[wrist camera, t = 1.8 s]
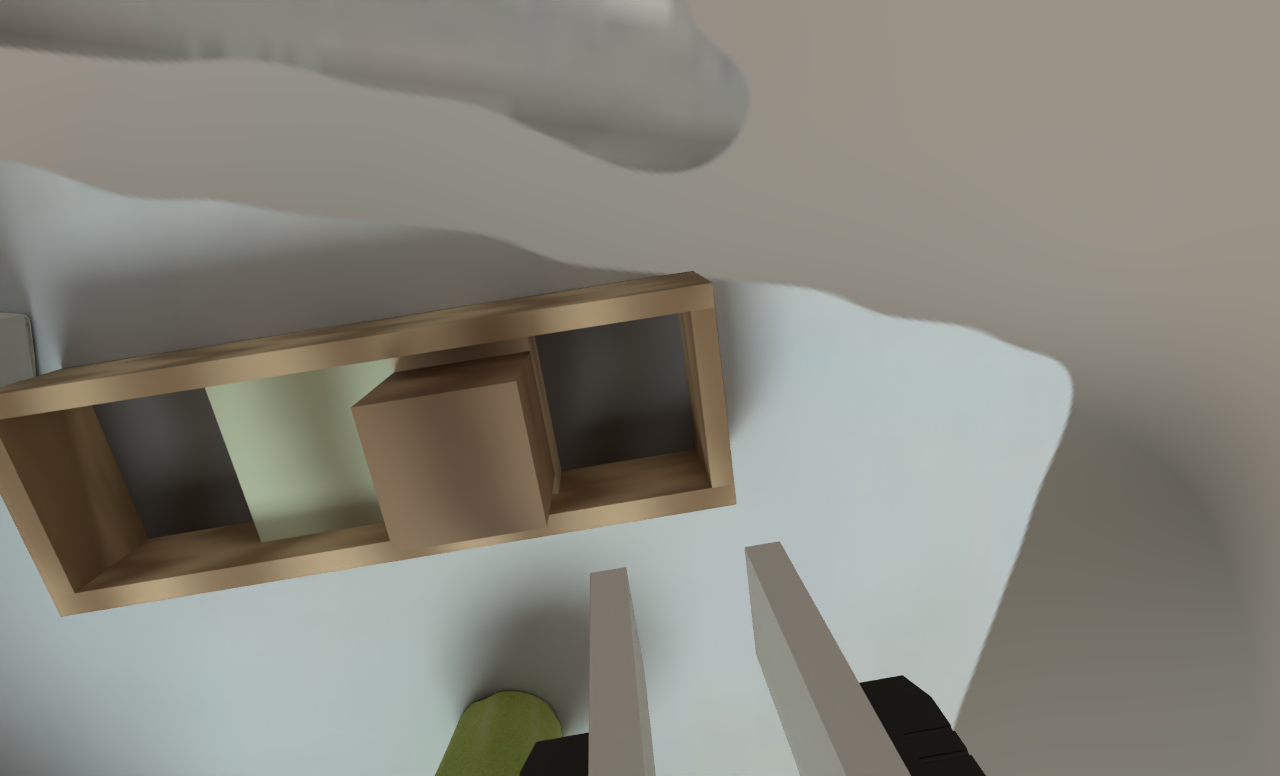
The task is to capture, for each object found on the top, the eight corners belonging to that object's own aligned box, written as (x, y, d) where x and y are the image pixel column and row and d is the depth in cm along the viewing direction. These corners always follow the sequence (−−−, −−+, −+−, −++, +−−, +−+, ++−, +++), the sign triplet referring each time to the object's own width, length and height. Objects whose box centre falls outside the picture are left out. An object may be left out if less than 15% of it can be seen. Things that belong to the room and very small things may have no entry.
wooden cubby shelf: (141, 554, 32) (60, 616, 27) (61, 368, 29) (-46, 400, 24) (715, 460, 32) (736, 504, 28) (692, 271, 30) (712, 282, 25)
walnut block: (427, 495, 29) (393, 552, 24) (394, 372, 27) (350, 407, 22) (554, 474, 29) (546, 527, 24) (530, 350, 27) (516, 381, 22)
